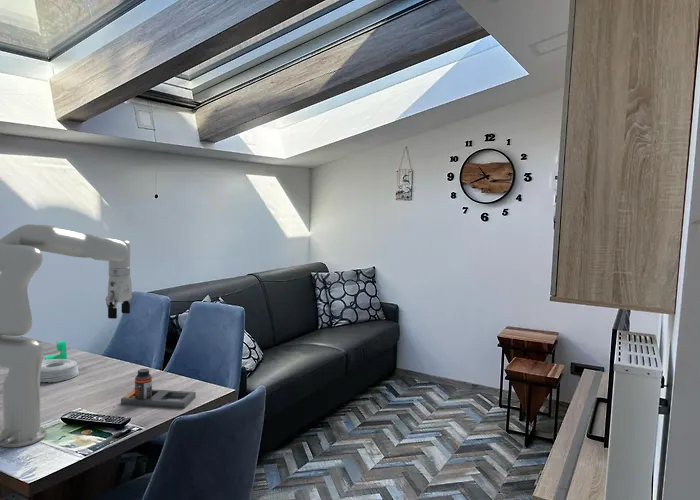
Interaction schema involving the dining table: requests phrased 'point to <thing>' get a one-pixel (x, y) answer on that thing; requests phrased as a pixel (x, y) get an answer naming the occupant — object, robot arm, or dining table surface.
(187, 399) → the grey rectangular frame
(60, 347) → the camera mount
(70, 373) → the cable
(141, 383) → the supplement bottle
